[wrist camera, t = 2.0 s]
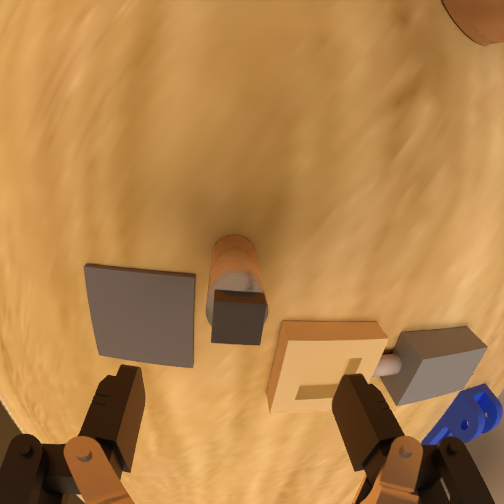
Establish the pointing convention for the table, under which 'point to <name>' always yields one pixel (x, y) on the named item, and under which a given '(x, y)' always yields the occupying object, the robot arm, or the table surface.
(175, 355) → the mat
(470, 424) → the bracket
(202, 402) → the table surface
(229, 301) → the square capped bottle
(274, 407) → the tray with grey block
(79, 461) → the robot arm
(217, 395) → the table surface
